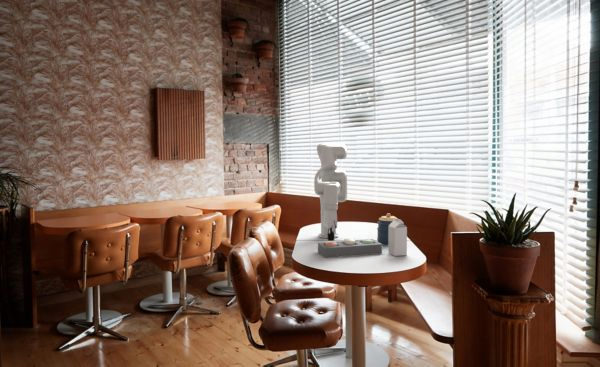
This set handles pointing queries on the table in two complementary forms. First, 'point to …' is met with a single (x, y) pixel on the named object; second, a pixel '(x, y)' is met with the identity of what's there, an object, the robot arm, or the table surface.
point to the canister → (384, 228)
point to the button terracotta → (330, 244)
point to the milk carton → (397, 238)
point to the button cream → (349, 241)
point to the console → (349, 249)
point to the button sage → (367, 241)
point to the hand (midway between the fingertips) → (330, 240)
